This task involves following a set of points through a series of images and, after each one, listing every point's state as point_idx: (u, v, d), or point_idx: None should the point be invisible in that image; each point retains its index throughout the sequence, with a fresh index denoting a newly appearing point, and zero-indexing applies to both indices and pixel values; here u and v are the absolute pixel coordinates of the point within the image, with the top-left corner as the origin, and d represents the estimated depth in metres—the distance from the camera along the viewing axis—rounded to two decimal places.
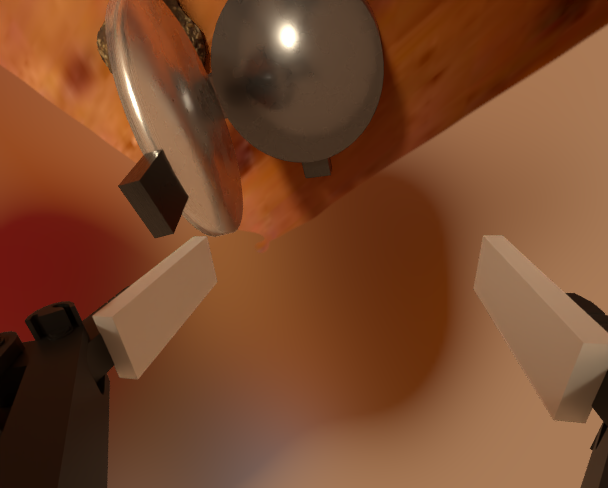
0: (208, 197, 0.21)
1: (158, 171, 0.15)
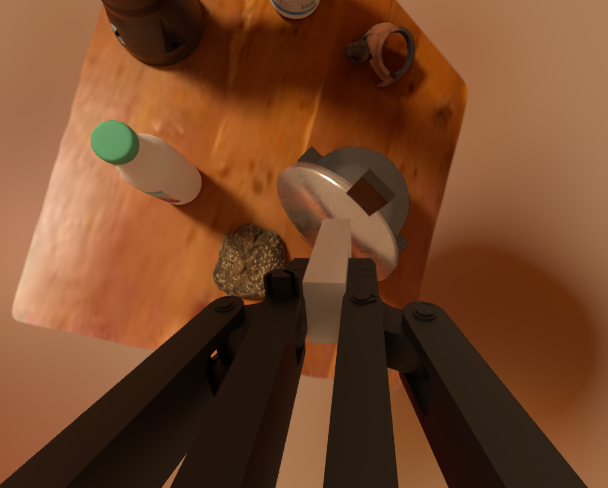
0: None
1: None
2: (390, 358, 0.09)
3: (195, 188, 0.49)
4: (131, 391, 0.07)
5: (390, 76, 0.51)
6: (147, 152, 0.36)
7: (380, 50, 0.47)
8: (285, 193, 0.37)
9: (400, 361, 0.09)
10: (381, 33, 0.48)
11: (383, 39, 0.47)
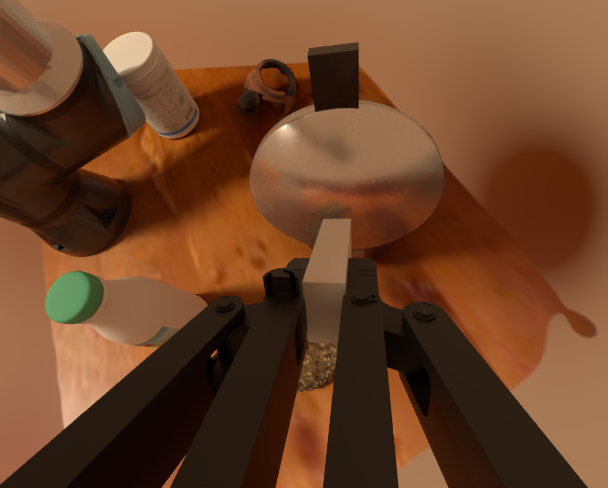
0: None
1: None
2: (390, 358, 0.09)
3: (202, 309, 0.41)
4: (131, 391, 0.07)
5: (287, 95, 0.52)
6: (118, 287, 0.29)
7: (263, 83, 0.50)
8: (274, 211, 0.30)
9: (400, 361, 0.09)
10: (254, 76, 0.51)
11: (258, 75, 0.50)
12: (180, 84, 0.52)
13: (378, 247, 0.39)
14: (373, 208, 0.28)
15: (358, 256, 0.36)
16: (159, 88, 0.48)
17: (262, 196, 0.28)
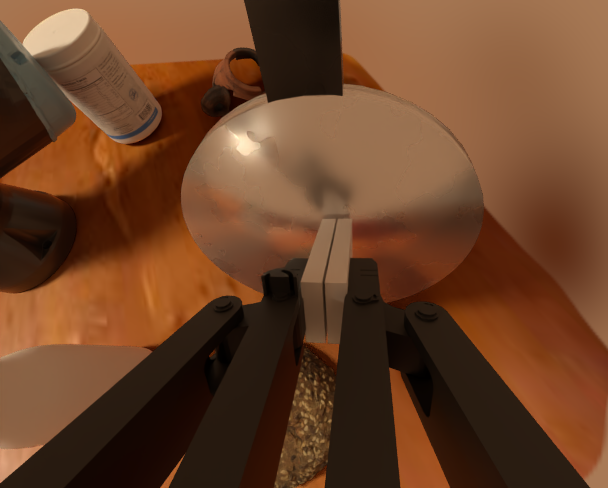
0: None
1: None
2: (392, 358, 0.09)
3: None
4: (129, 391, 0.07)
5: (264, 92, 0.43)
6: None
7: (232, 77, 0.40)
8: (227, 257, 0.21)
9: (402, 361, 0.09)
10: (222, 68, 0.42)
11: (226, 67, 0.40)
12: (132, 76, 0.42)
13: None
14: (370, 256, 0.19)
15: None
16: (99, 76, 0.38)
17: (206, 236, 0.19)
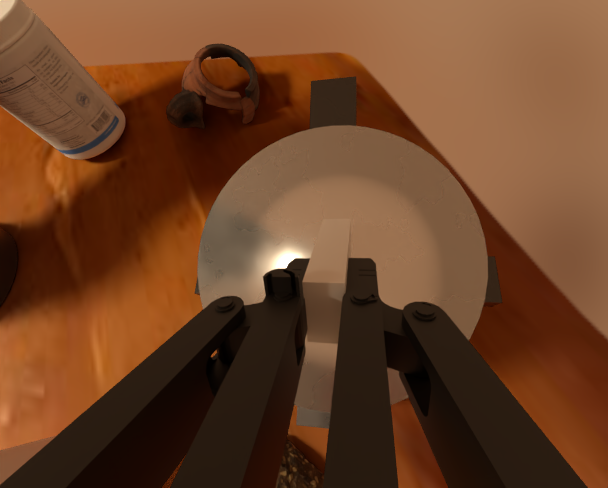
0: None
1: None
2: (390, 358, 0.09)
3: None
4: (131, 391, 0.07)
5: (245, 98, 0.35)
6: None
7: (204, 80, 0.32)
8: (220, 283, 0.19)
9: (400, 360, 0.09)
10: (192, 69, 0.34)
11: (196, 68, 0.33)
12: (82, 77, 0.34)
13: None
14: (378, 284, 0.17)
15: None
16: (31, 76, 0.30)
17: (213, 249, 0.19)
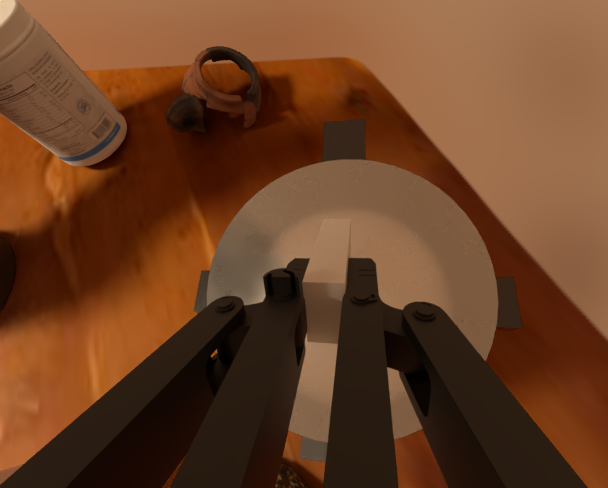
0: None
1: None
2: (390, 358, 0.09)
3: None
4: (131, 391, 0.07)
5: (246, 101, 0.34)
6: None
7: (204, 83, 0.32)
8: None
9: (400, 361, 0.09)
10: (192, 72, 0.33)
11: (197, 71, 0.32)
12: (83, 84, 0.33)
13: None
14: None
15: None
16: (30, 83, 0.29)
17: (224, 269, 0.20)
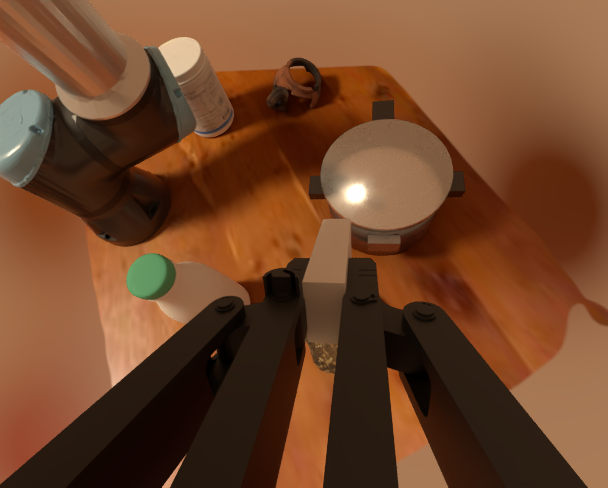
0: None
1: None
2: (390, 358, 0.09)
3: (244, 295, 0.45)
4: (131, 391, 0.07)
5: (314, 91, 0.56)
6: (184, 270, 0.33)
7: (292, 80, 0.54)
8: (332, 182, 0.41)
9: (400, 361, 0.09)
10: (283, 73, 0.55)
11: (287, 72, 0.54)
12: (220, 86, 0.55)
13: (410, 240, 0.42)
14: (406, 179, 0.39)
15: (394, 247, 0.39)
16: (203, 89, 0.51)
17: (328, 169, 0.41)
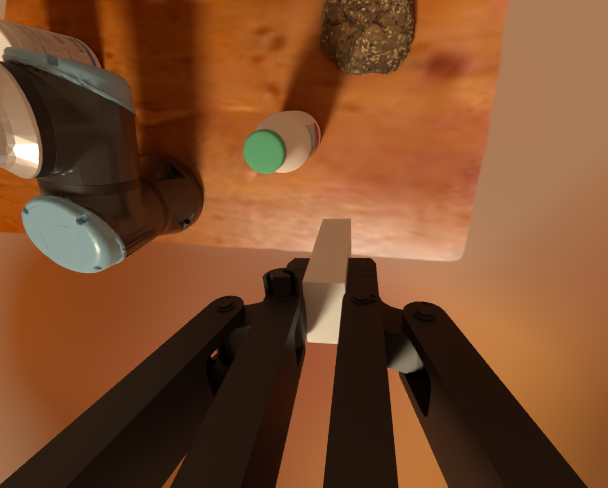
0: None
1: None
2: (390, 358, 0.09)
3: None
4: (131, 391, 0.07)
5: None
6: (266, 129, 0.34)
7: None
8: None
9: (400, 361, 0.09)
10: None
11: None
12: (36, 28, 0.43)
13: None
14: None
15: None
16: (41, 47, 0.41)
17: None
